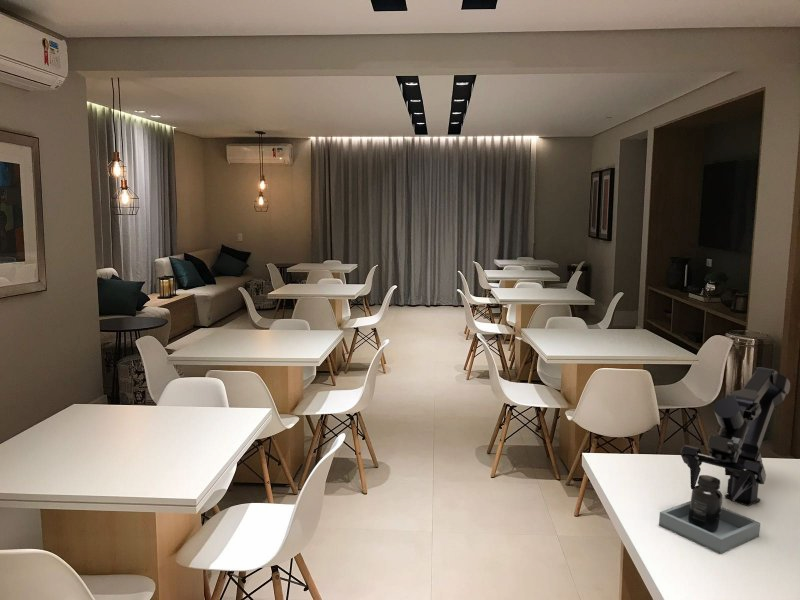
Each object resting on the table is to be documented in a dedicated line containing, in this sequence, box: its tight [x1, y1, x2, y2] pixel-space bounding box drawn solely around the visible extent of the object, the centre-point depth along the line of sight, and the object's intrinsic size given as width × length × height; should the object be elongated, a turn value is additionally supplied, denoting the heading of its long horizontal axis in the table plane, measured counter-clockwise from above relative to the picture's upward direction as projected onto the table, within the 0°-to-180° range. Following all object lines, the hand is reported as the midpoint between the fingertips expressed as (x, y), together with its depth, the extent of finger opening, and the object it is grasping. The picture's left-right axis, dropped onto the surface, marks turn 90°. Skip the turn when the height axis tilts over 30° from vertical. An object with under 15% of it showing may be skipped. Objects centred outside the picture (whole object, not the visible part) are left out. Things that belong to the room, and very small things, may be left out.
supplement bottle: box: [688, 474, 724, 531], centre depth 163 cm, size 7×7×12 cm
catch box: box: [658, 500, 761, 555], centre depth 163 cm, size 16×16×4 cm
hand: (711, 494), depth 162 cm, fingers open, 9 cm apart
